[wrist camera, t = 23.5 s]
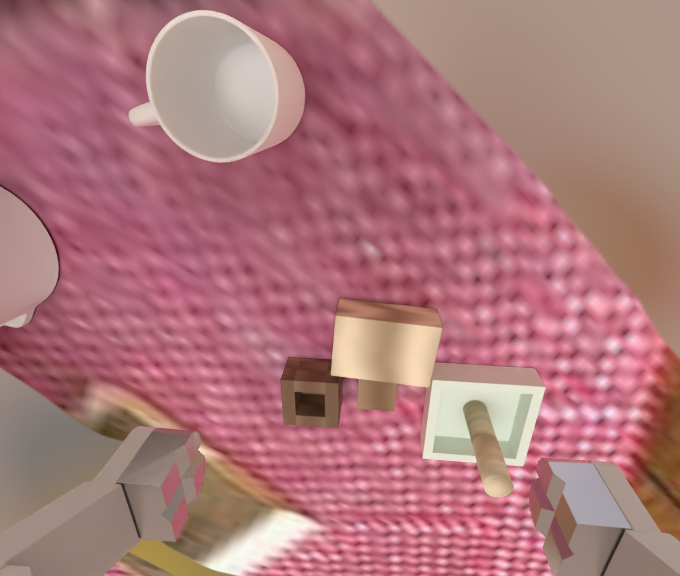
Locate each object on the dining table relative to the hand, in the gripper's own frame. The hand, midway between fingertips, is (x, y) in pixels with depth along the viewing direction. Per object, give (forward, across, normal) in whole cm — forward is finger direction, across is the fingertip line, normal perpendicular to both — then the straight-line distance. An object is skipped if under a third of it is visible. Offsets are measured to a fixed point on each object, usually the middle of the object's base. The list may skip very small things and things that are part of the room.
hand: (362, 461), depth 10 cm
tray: (+29, -12, +23) cm, 39 cm away
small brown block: (+29, -1, +20) cm, 35 cm away
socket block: (+29, +6, +21) cm, 36 cm away
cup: (+29, +12, -8) cm, 33 cm away
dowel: (+28, -12, +23) cm, 39 cm away
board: (+30, -1, +14) cm, 33 cm away
